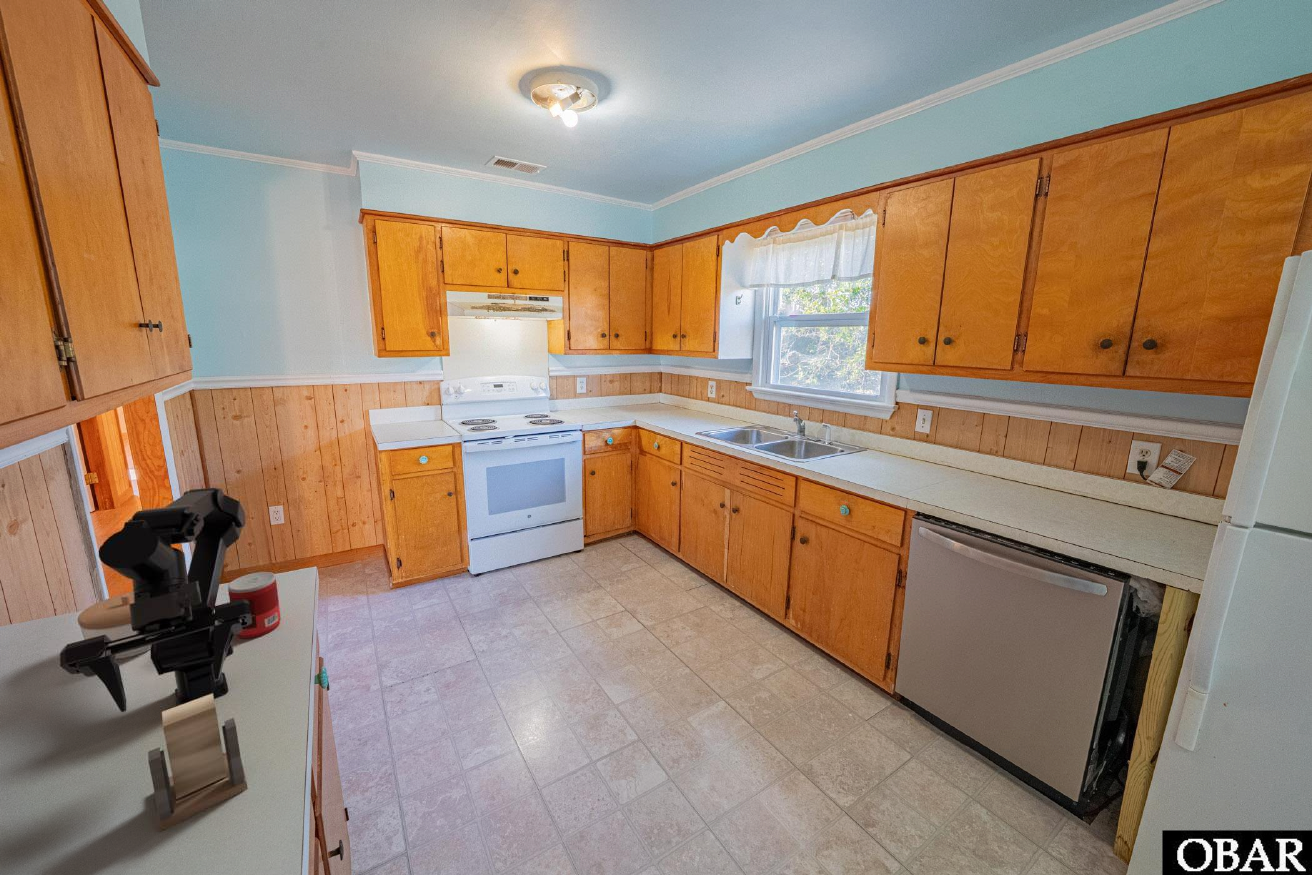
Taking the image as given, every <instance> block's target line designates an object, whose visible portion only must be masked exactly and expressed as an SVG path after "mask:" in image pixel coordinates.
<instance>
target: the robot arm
mask: <svg viewBox="0 0 1312 875" xmlns="http://www.w3.org/2000/svg"><path fill="white" fill-rule="evenodd" d="M246 519H247V518H246V513H245V510H244V507H243V506H242V504H241V502H240V501H239V500H237V499H235V498H232V497H230V496H228V495H226V494H225V493H224V491H223V489H221V488H217V487H206V488H194V489H189V490H188V491H184V493H183V495H181V496H179V497H178V498H177V499H175V500H174V501H172V502H170V503H168V505H166V506H163V507H157V508H149V509H148V508H147V509H143V510H138V511H136V512H134V514H132V517H131V518H130V519H129V520H127V521H126V522H124V524H123V528H122V529H121V530H120V531H116V532H115V533H113V534H112V535H110V536H109V537H108V538H107V539H106V540H105V541H104V542H103V543H102V544H101V546H99V549H98V557H99V560H100V562H102V563H103V565H104V566H107V567H108V568H110V569H111V570H113V571H115V572H116V573H118V574H120V575H121V576H123V577H125V578H127V579H129V580H132V592H133V596H134V603H132V604H129V606H130V613H131V625H132V630H133V631H136V633H137V634H136V635H132V636H128V637H125V638H121V639H117V640H113V641H111V640H110V639H109V638H108V637H107V636H106V635H101V636H97V637H93V638H89V639H86V640H85V639H81V640H79V641H75V642H70V643H67V644H66V645H65V646H64V647H63V648H62V649H61V650H60V653H59V663H60V664H59V665H60V666H59V667H60V668H61V669H63V670H65V671H66V672H68V673H69V674H70V675H80V674H82V675H84V677H86V678H87V677H88V678H90V677H95V676H96V677H97V678H98V680H100V681H101V682H102V683H103V684H104V686H105V688H106V689H107V691H108V692H109V695H110V696H111V697H112V698H111V699H113V701H114V702H115V704H116V706H117V707H118V709H119V711H120V712H122V713H124V712H127V698H126V697H127V696H126V693H125V687H124V683H123V682H124V681H123V679H122V678H123V677H122V673H121V669H120V665H119V664H118V663H117V662H116V661H115V655H116V654H119V653H123V652H126V651H130V650H133V649H137V648H141V647H144V646H148V645H151V644H152V645H151V649H150V652H149V653H150V659H151V662H152V664H153V666H154V668H155V671H156V673H157V675H158V676H162V675H165V674H168V673H173V672H174V678H175V682H176V683H175V684H176V688H175V689H174V695H175V707H177V706H179V705H182V704H185V703H188V702H190V701H193V700H196V699H199V698H201V697H204V696H207V695H210V694H212V693H213V697H214V698H216V697H217V698H218V697H219V696H221V695H224V694H227V693H228V692H229V685H228V682H227V678H226V675H225V672H223V671H222V670H223V666H224V663H225V661H226V659H227V657H229V656H231V655H233V654H234V647H233V638H234V636H235V635H236V634H238V633H241V632H242V627H244V626H247V625H249V624H251V623H252V618H251V612H250V606H249V601H247V600H245V599H240V600H236V601H233V602H230V601H228V602H226V603H225V602H224V603H222V604H218V605H216V603H217V598H218V592H219V589H220V588H219V587H220V585H221V584H220V583H221V578H222V573H223V568H224V564H225V559H226V553H227V550H228V548H229V547H231V546H232V545H233V544H234V543H236V542H237V541H238V540H239V539H240V536H241V532H242V529H243V528H245V526H246V521H247V520H246ZM186 543H188V544H189V543H193V544H194V548H193V552H192V557H191V560H190V564H189V568H188V570H187V563H186V554H185V552H183V551H182V550H181V549H179V548H177V547H172V546H173V545H178V544H180V545H181V544H186ZM155 636H156V637H155ZM152 637H153V638H152ZM148 638H149V639H148Z"/></svg>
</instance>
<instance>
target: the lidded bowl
mask: <svg viewBox="0 0 1312 875" xmlns="http://www.w3.org/2000/svg"><path fill="white" fill-rule="evenodd" d="M132 603H134V596H133V591H131V592H127V593H121V594H117V595H115V596H113V597H109V598H107V599H104V600H101V601H98V602H97V603H95V604H92V605H89V607H87V608H85V609H84V610H83V611H82V612H80V613H79V615H78V617H77V623H78V625H79V627H80V629H81V634H82V638H83V640H86V639H89V638H93V637H97V636H101V635H106V636H107V637H108V638H109V639H110V640H111V641H113V640H117V639H121V638H125V637H128V636H132V635H136V634H137V633H136V631H133V630H132V625H131V613H130V606H129V604H132ZM155 637H156V636H155ZM152 638H153V637H152ZM148 639H149V638H148ZM151 645H152V644H151ZM151 645H148V646H144V647H141V648H137V649H133V650H130V651H126V652H123V653H119V654H116V655H115V659H116V660H117V659H118V660H119V659H125V658H131V657H135V656H138V655H141V654H143V653H146V652H148V651H151ZM115 659H114V660H115Z"/></svg>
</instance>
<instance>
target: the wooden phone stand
mask: <svg viewBox="0 0 1312 875" xmlns="http://www.w3.org/2000/svg"><path fill="white" fill-rule="evenodd" d="M223 723H224V725H222V726H221V730H222V734H223V742H224V748H225V749H224V750H225V752H223V756H224V762H225V769H226V775H227V776H226V777H224V778H221V779H219V780H217V781H215V782H213V783H211V784H208V785H206V786H204V787H202V788H200V789H198V790H195V791H193V792H191V793H189V794H187V795H185V796H182V797H180V798H178V799H177V798H176V793H175V788H174V782H173V777H172V775H170V776H169V772H168V771H169V770H168V766H167V761H166V756H165V750H164V749H163V750H161V749H160V747H156V748H154V749H151V750H149V751H147V757H148V759H147V760H148V767H149V771H150V777H151V781H152V782H151V783H152V786H153V790H154V797H155V801H156V805H157V806H156V808H157V824H158V829H159V832H162V831H164V830H165V829H168V828H170V827H172V826H174V825H176V824H178V823H179V822H181V821H184V820H186V819H188V818H190V817H192V816H195V815H196V814H199V813H201V812H202V811H205V810H207V809H209V808H211V807H213V806H215V805H217V804H219V803H221V802H223V801H225V800H227V799H229V798H231V797H233V796H235V795H238V794H240V793H242V792H244V791H246V790H248V782H247V778H246V774H245V770H244V765H243V761H242V758H241V750H240V744H239V737H238V731H237V726H236V725H237V724H236V721H235V717H231V718H229V719H227V720H224V722H223Z"/></svg>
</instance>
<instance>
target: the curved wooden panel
mask: <svg viewBox="0 0 1312 875" xmlns="http://www.w3.org/2000/svg"><path fill="white" fill-rule="evenodd" d="M214 698H215V697H213V693H212V694H210V695H207V696H204V697H201V698H199V699H196V700H193V701H190V702H188V703H185V704H182V705H179V706H173V707H172V708H169V709H166V710H163V711H161V716H162V730H163V734H164V740H165V743H166V744H165V746H166V749H167V754H168V755H167V756H168V761H169V765H170V771H171V776H172V777H173V782H174V788H175V793H176V798H177V799H178V798H180V797H182V796H185V795H187V794H189V793H191V792H193V791H195V790H198V789H200V788H202V787H204V786H206V785H208V784H211V783H213V782H215V781H217V780H219V779H221V778H224V777H226V776H227V775H226V769H225V762H224V756H223V754H224V752H223V744H222V740H221V739H222V738H221V734H220V727H219V720H218V715H217V708H216V704H215V703H216V702H215V699H214Z"/></svg>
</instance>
